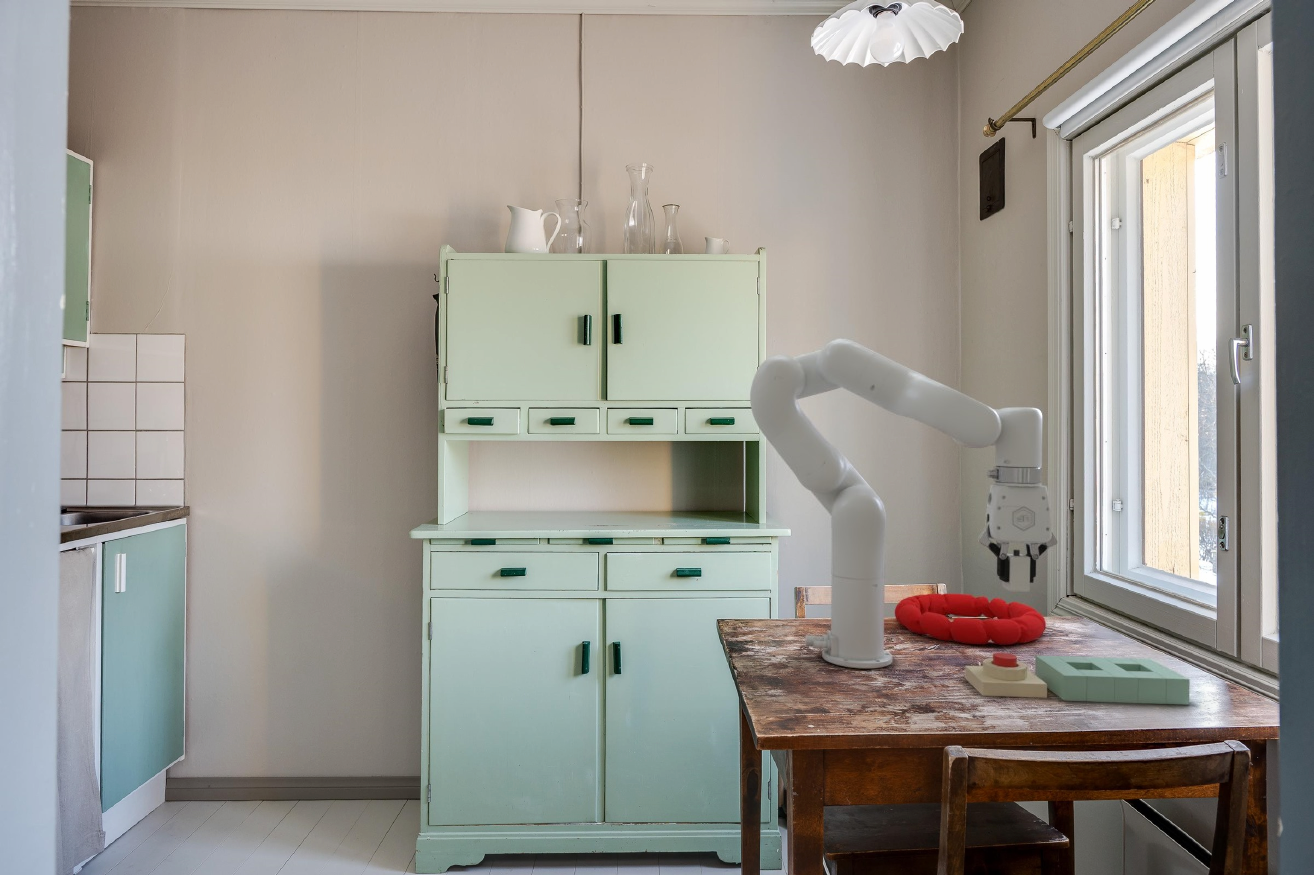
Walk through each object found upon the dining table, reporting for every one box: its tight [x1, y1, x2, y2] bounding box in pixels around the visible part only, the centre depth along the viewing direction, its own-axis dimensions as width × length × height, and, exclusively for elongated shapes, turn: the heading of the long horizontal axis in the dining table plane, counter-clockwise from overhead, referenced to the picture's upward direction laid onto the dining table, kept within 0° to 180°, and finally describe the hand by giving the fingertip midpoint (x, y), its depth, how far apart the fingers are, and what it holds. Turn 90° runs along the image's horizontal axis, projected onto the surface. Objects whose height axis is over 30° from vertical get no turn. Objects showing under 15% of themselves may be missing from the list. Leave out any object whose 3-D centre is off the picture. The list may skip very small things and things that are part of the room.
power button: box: [992, 652, 1018, 667], centre depth 130 cm, size 4×4×2 cm
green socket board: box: [1034, 655, 1191, 706], centre depth 129 cm, size 19×11×4 cm, turn 86°
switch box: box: [964, 657, 1048, 699], centre depth 130 cm, size 10×9×4 cm
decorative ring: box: [894, 593, 1047, 646], centre depth 170 cm, size 7×30×30 cm
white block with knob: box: [1002, 549, 1031, 593], centre depth 140 cm, size 3×3×7 cm
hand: (1016, 580), depth 140 cm, fingers closed on white block with knob, 3 cm apart
